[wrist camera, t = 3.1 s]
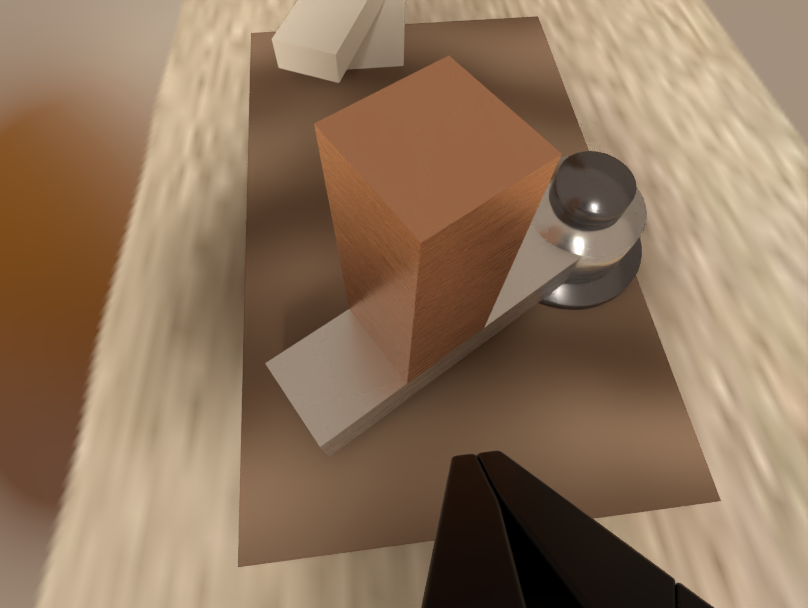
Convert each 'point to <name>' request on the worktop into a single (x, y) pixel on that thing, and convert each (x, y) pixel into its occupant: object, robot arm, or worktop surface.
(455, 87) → the lever link
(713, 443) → the worktop surface
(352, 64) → the block
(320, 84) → the walnut board
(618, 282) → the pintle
